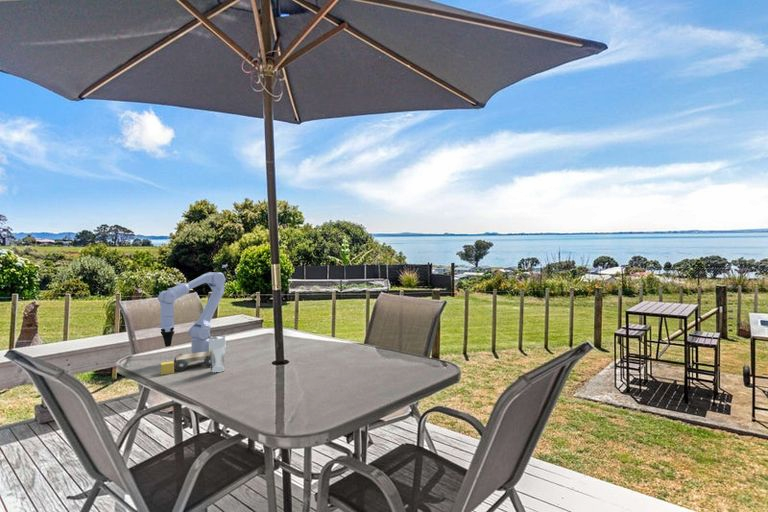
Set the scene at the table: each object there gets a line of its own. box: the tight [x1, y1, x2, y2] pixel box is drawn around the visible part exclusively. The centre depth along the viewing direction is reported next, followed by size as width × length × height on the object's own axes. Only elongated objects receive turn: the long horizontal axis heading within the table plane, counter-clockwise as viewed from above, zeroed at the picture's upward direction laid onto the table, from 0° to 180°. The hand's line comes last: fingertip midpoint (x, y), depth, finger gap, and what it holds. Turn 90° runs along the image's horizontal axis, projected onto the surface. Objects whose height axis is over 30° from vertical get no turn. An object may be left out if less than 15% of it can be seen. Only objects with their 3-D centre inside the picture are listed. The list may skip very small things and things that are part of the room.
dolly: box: [173, 351, 211, 372], centre depth 182 cm, size 17×12×10 cm
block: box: [160, 360, 175, 376], centre depth 172 cm, size 5×4×4 cm
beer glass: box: [208, 335, 227, 374], centre depth 173 cm, size 7×7×15 cm
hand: (167, 344), depth 186 cm, fingers open, 7 cm apart
